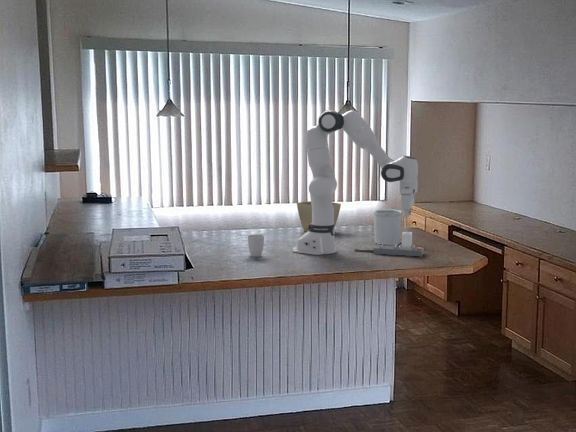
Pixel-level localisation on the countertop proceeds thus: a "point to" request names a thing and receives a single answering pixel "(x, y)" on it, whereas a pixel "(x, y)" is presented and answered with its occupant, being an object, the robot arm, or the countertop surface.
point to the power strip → (395, 250)
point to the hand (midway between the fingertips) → (407, 216)
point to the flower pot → (306, 213)
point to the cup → (256, 245)
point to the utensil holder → (387, 226)
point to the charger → (407, 239)
